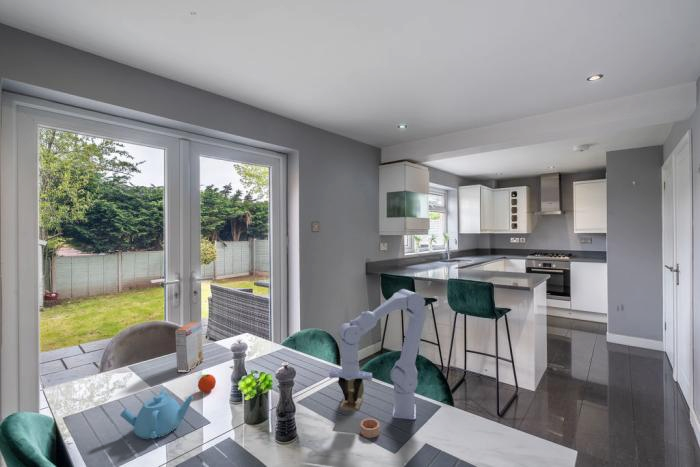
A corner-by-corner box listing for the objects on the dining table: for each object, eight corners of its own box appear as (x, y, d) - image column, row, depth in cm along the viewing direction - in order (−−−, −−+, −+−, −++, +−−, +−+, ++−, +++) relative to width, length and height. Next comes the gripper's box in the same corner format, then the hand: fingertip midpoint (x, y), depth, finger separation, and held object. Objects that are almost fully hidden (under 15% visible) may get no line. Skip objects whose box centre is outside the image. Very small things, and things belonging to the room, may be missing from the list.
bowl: (362, 426, 111) (362, 417, 111) (380, 428, 110) (380, 419, 110) (359, 437, 105) (359, 428, 105) (378, 439, 104) (377, 430, 104)
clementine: (192, 394, 136) (191, 377, 136) (203, 386, 143) (202, 370, 143) (209, 396, 134) (208, 379, 134) (219, 388, 141) (219, 371, 141)
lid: (344, 399, 115) (344, 385, 115) (362, 401, 114) (362, 387, 114) (339, 409, 109) (339, 394, 109) (358, 411, 107) (358, 396, 107)
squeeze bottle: (362, 404, 125) (361, 357, 125) (341, 403, 126) (340, 356, 126) (365, 394, 133) (364, 350, 132) (346, 392, 134) (345, 349, 134)
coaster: (338, 416, 118) (338, 415, 117) (363, 418, 116) (363, 417, 116) (332, 431, 109) (332, 430, 109) (358, 434, 107) (358, 433, 107)
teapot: (159, 412, 124) (158, 382, 123) (195, 420, 118) (194, 389, 118) (118, 436, 109) (117, 403, 109) (157, 447, 103) (155, 412, 103)
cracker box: (192, 361, 172) (191, 321, 171) (203, 361, 171) (202, 321, 171) (175, 373, 158) (174, 329, 157) (187, 373, 157) (186, 329, 157)
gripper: (326, 363, 109) (327, 403, 109) (369, 366, 106) (370, 407, 106) (331, 355, 116) (333, 393, 116) (372, 357, 113) (373, 396, 113)
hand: (351, 399), depth 111 cm, fingers closed on lid, 3 cm apart
